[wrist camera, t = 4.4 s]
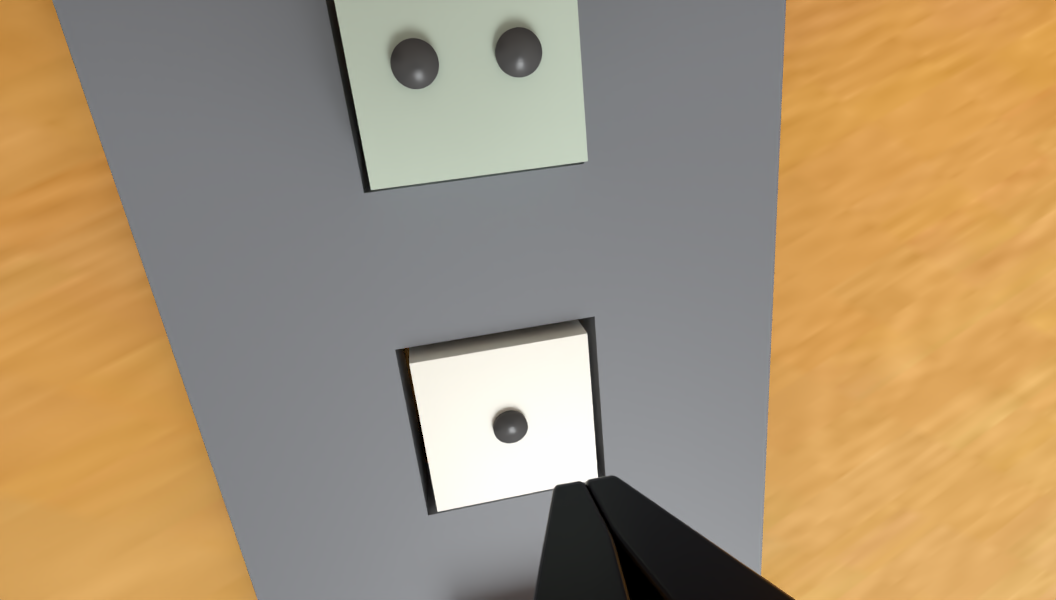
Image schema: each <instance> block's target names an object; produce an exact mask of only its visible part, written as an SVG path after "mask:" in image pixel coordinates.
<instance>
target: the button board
mask: <svg viewBox="0 0 1056 600" xmlns="http://www.w3.org/2000/svg"><path fill="white" fill-rule="evenodd" d="M52 1H53V4H54V7H55V9H56V12H57V15H58V18H59V21H60V24H61V27H62V30H63V33H64V36H65V39H66V42H67V44H68V47H69V50H70V53H71V56H72V59H73V62H74V65H75V68H76V71H77V74H78V77H79V79H80V82H81V85H82V88H83V91H84V94H85V97H86V100H87V103H88V106H89V109H90V112H91V114H92V117H93V120H94V123H95V126H96V129H97V132H98V135H99V138H100V141H101V144H102V147H103V149H104V152H105V155H106V158H107V161H108V164H109V167H110V170H111V173H112V176H113V179H114V182H115V184H116V187H117V190H118V193H119V196H120V199H121V202H122V205H123V208H124V211H125V214H126V217H127V219H128V222H129V225H130V228H131V231H132V234H133V237H134V240H135V243H136V246H137V249H138V252H139V255H140V257H141V260H142V263H143V266H144V269H145V272H146V275H147V278H148V281H149V284H150V287H151V290H152V292H153V295H154V298H155V301H156V304H157V307H158V310H159V313H160V316H161V319H162V322H163V325H164V327H165V330H166V333H167V336H168V339H169V342H170V345H171V348H172V351H173V354H174V357H175V360H176V362H177V365H178V368H179V371H180V374H181V377H182V380H183V383H184V386H185V389H186V392H187V395H188V397H189V400H190V403H191V406H192V409H193V412H194V415H195V418H196V421H197V424H198V427H199V430H200V432H201V435H202V438H203V441H204V444H205V447H206V450H207V453H208V456H209V459H210V462H211V465H212V467H213V470H214V473H215V476H216V479H217V482H218V485H219V488H220V491H221V494H222V497H223V500H224V502H225V505H226V508H227V511H228V514H229V517H230V520H231V523H232V526H233V529H234V532H235V535H236V537H237V540H238V543H239V546H240V549H241V552H242V555H243V558H244V561H245V564H246V567H247V570H248V572H249V575H250V578H251V581H252V584H253V587H254V590H255V593H256V596H257V599H258V600H533V597H534V591H535V586H536V580H537V575H538V569H539V564H540V558H541V553H542V547H543V542H544V536H545V531H546V525H547V520H548V514H549V509H550V503H551V498H552V492H553V489H548V490H543V491H538V492H533V493H528V494H523V495H519V496H514V497H509V498H504V499H499V500H494V501H489V502H484V503H479V504H474V505H469V506H464V507H459V508H454V509H449V510H444V511H439V512H438V511H437V506H436V501H435V495H434V490H433V485H432V480H431V475H430V469H429V464H428V463H426V462H425V456H424V451H423V446H422V441H421V436H420V430H419V425H418V420H417V415H416V410H415V405H414V399H413V394H412V389H411V384H410V379H409V374H408V368H407V363H406V358H405V353H404V348H408V347H414V346H420V345H426V344H432V343H438V342H444V341H450V340H456V339H462V338H468V337H474V336H480V335H486V334H492V333H498V332H504V331H510V330H516V329H522V328H528V327H534V326H540V325H546V324H552V323H558V322H564V321H570V320H576V319H578V321H579V322H580V324H581V325H582V326H583V328H584V329H585V331H586V332H587V336H588V350H589V363H590V377H591V390H592V404H593V418H594V431H595V445H596V458H597V472H598V477H603V476H609V475H614V476H617V477H619V478H620V479H622V480H623V481H624V482H626V483H627V484H629V485H630V486H632V487H633V488H635V489H636V490H637V491H639V492H640V493H642V494H643V495H645V496H646V497H648V498H649V499H650V500H652V501H653V502H655V503H656V504H658V505H659V506H661V507H662V508H663V509H665V510H666V511H668V512H669V513H671V514H672V515H674V516H675V517H676V518H678V519H679V520H681V521H682V522H684V523H685V524H687V525H688V526H690V527H691V528H692V529H694V530H695V531H697V532H698V533H700V534H701V535H703V536H704V537H705V538H707V539H708V540H710V541H711V542H713V543H714V544H716V545H717V546H718V547H720V548H721V549H723V550H724V551H726V552H727V553H729V554H730V555H731V556H733V557H734V558H736V559H737V560H739V561H740V562H742V563H743V564H745V565H746V566H747V567H749V568H750V569H752V570H753V571H755V572H756V573H758V574H759V575H760V576H761V560H762V537H763V514H764V491H765V468H766V445H767V422H768V399H769V377H770V354H771V331H772V308H773V285H774V262H775V239H776V216H777V194H778V171H779V148H780V125H781V102H782V79H783V56H784V33H785V11H786V0H577V3H578V18H579V33H580V48H581V63H582V79H583V94H584V109H585V124H586V139H587V154H588V161H586V162H579V163H571V164H564V165H556V166H549V167H541V168H534V169H526V170H519V171H511V172H504V173H496V174H489V175H481V176H474V177H466V178H459V179H451V180H444V181H436V182H429V183H421V184H414V185H406V186H399V187H391V188H384V189H376V190H371V187H370V182H369V177H368V172H367V166H366V161H365V156H364V151H363V146H362V141H361V136H360V130H359V125H358V120H357V115H356V110H355V105H354V100H353V94H352V89H351V84H350V79H349V74H348V69H347V64H346V58H345V53H344V48H343V43H342V38H341V33H340V27H339V22H338V17H337V12H336V7H335V2H334V0H52ZM584 483H586V482H584Z"/></svg>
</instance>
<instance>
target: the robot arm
mask: <svg viewBox="0 0 1056 600" xmlns="http://www.w3.org/2000/svg"><path fill="white" fill-rule="evenodd" d="M533 600H795V599H794V598H792V597H791V596H789V595H788V594H786V593H785V592H784V591H782V590H781V589H779V588H778V587H776V586H775V585H773V584H772V583H771V582H769V581H768V580H766V579H765V578H763V577H762V576H760V575H759V574H758V573H756V572H755V571H753V570H752V569H750V568H749V567H747V566H746V565H745V564H743V563H742V562H740V561H739V560H737V559H736V558H734V557H733V556H731V555H730V554H729V553H727V552H726V551H724V550H723V549H721V548H720V547H718V546H717V545H716V544H714V543H713V542H711V541H710V540H708V539H707V538H705V537H704V536H703V535H701V534H700V533H698V532H697V531H695V530H694V529H692V528H691V527H690V526H688V525H687V524H685V523H684V522H682V521H681V520H679V519H678V518H676V517H675V516H674V515H672V514H671V513H669V512H668V511H666V510H665V509H663V508H662V507H661V506H659V505H658V504H656V503H655V502H653V501H652V500H650V499H649V498H648V497H646V496H645V495H643V494H642V493H640V492H639V491H637V490H636V489H635V488H633V487H632V486H630V485H629V484H627V483H626V482H624V481H623V480H622V479H620V478H619V477H617V476H614V475H609V476H603V477H598V478H592V479H588V480H587V481H586V483H584V482H581V481H576V482H570V483H564V484H559V485H556V486H555V487H554V488H553V492H552V498H551V503H550V509H549V514H548V520H547V525H546V531H545V536H544V542H543V547H542V553H541V558H540V564H539V569H538V575H537V580H536V586H535V591H534V597H533Z"/></svg>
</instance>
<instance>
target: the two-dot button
mask: <svg viewBox="0 0 1056 600" xmlns="http://www.w3.org/2000/svg"><path fill="white" fill-rule="evenodd" d="M334 2H335V7H336V12H337V17H338V22H339V27H340V33H341V38H342V43H343V48H344V53H345V58H346V64H347V69H348V74H349V79H350V84H351V89H352V94H353V100H354V105H355V110H356V115H357V120H358V125H359V130H360V136H361V141H362V146H363V151H364V156H365V161H366V166H367V172H368V177H369V182H370V187H371V190H376V189H384V188H391V187H399V186H406V185H414V184H421V183H429V182H436V181H444V180H451V179H459V178H466V177H474V176H481V175H489V174H496V173H504V172H511V171H519V170H526V169H534V168H541V167H549V166H556V165H564V164H571V163H579V162H586V161H588V154H587V139H586V124H585V109H584V94H583V79H582V63H581V48H580V33H579V18H578V3H577V0H334Z"/></svg>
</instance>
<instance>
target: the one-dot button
mask: <svg viewBox="0 0 1056 600" xmlns="http://www.w3.org/2000/svg"><path fill="white" fill-rule="evenodd" d="M409 365H410V370H411V375H412V381H413V386H414V391H415V396H416V401H417V407H418V412H419V417H420V422H421V428H422V433H423V438H424V443H425V448H426V454H427V459H428V464H429V469H430V475H431V480H432V485H433V490H434V495H435V501H436V506H437V511H438V512H439V511H444V510H449V509H454V508H459V507H464V506H469V505H474V504H479V503H484V502H489V501H494V500H499V499H504V498H509V497H514V496H519V495H523V494H528V493H533V492H538V491H543V490H548V489H553V488H554V487H555V486H556V485H559V484H564V483H570V482H576V481H581V482H586V481H587V480H588V479H592V478H598V472H597V458H596V445H595V431H594V418H593V404H592V390H591V377H590V363H589V350H588V336H587V332H586V331H585V329H584V328H583V326H582V325H581V324H580V322H579V321H578V319H576V320H570V321H564V322H558V323H552V324H546V325H540V326H534V327H528V328H522V329H516V330H510V331H504V332H498V333H492V334H486V335H480V336H474V337H468V338H462V339H456V340H450V341H444V342H438V343H432V344H426V345H420V346H414V347H409Z"/></svg>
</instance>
